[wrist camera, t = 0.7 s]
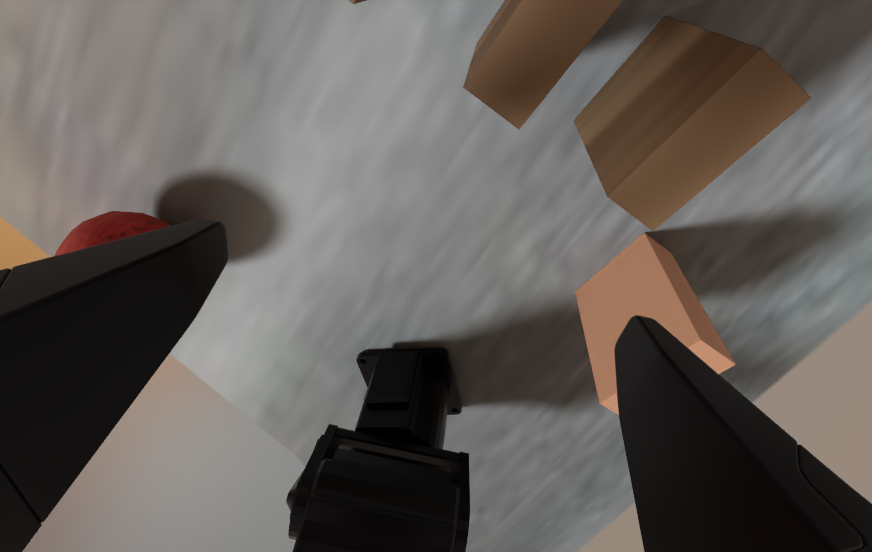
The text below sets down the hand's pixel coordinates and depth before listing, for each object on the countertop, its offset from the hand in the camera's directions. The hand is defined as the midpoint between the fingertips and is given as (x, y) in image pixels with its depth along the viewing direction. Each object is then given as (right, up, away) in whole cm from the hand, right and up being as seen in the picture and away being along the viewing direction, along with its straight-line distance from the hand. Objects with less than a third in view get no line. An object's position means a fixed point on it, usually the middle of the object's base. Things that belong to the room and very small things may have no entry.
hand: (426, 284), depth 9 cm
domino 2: (+9, +8, +9) cm, 15 cm away
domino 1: (+4, +11, +8) cm, 14 cm away
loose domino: (+11, 0, +15) cm, 18 cm away
